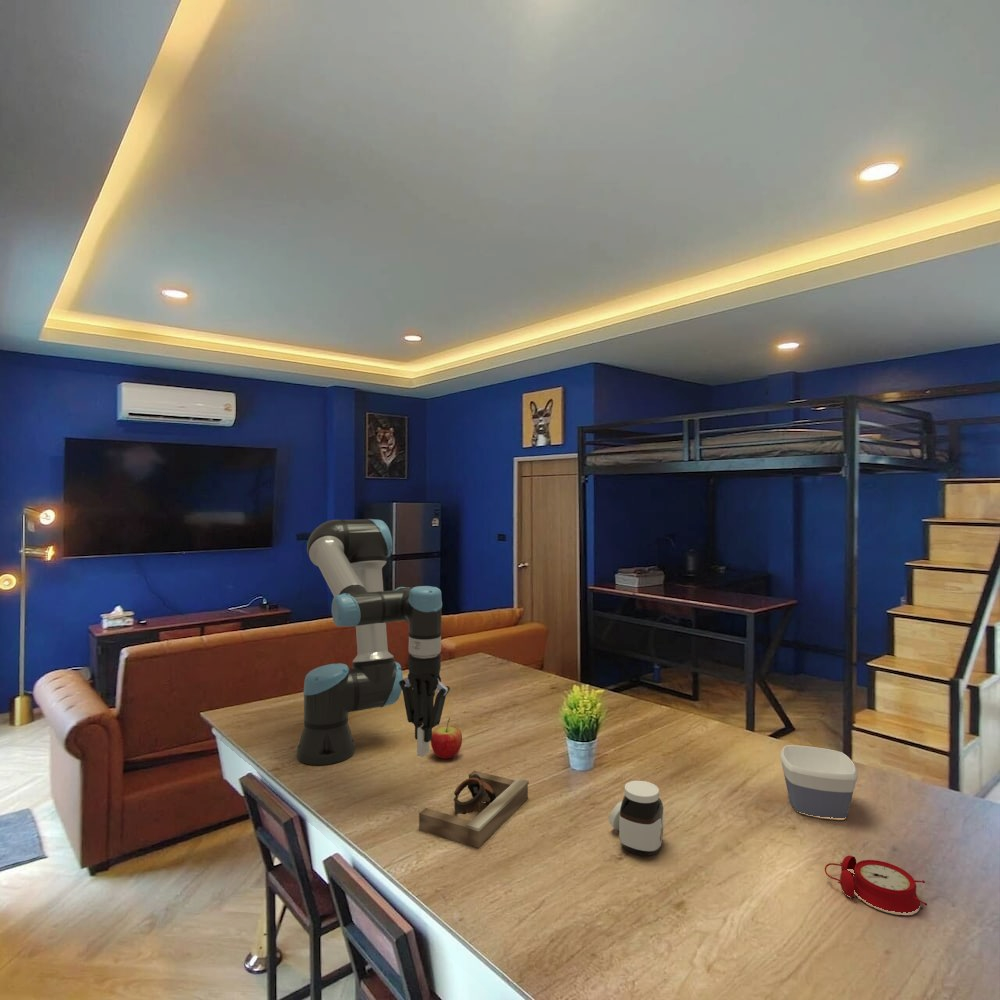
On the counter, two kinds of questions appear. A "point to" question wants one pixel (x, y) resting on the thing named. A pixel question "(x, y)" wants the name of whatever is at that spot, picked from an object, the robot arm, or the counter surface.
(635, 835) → the spread jar
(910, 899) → the alarm clock
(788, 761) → the bowl
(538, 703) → the counter surface
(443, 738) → the apple
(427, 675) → the robot arm
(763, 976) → the counter surface
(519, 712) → the counter surface
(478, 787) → the brown broken pot
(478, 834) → the walnut pocket
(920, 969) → the counter surface
